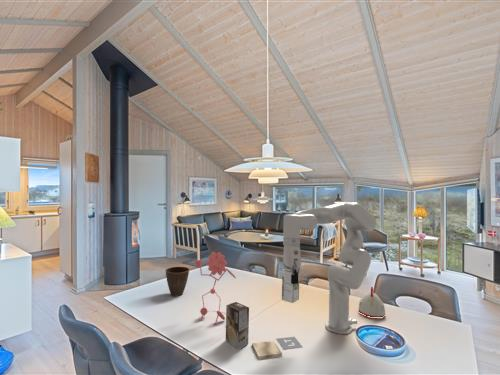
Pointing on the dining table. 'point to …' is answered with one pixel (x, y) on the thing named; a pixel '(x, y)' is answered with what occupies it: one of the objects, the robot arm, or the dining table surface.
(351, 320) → the robot arm
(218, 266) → the figurine
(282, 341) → the plaque
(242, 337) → the coffee box
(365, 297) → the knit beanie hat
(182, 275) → the plant pot
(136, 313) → the dining table surface
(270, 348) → the tray
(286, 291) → the syrup box
